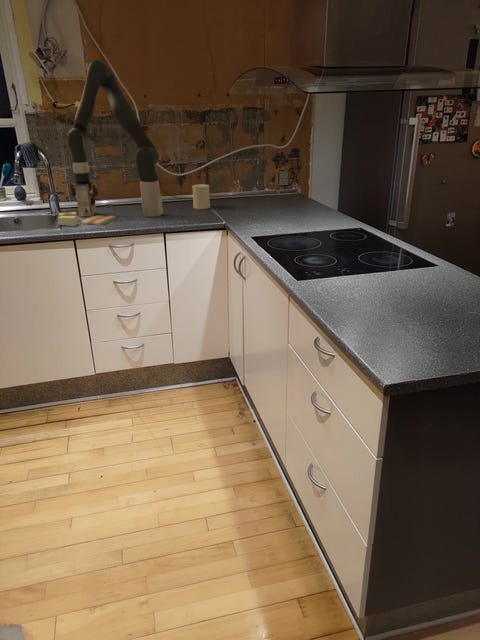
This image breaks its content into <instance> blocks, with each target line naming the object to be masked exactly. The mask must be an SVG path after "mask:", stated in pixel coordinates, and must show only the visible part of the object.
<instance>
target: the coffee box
mask: <svg viewBox="0 0 480 640" xmlns="http://www.w3.org/2000/svg"><path fill="white" fill-rule="evenodd" d="M90 182H91V184H93V181H91V180H90ZM74 184H75V183H74ZM74 186H75V192H76V197H75V198H77V200H76V204H77V210H78V216H79V218H80V217H91V216H93V215H94V214H96V213H97V208H96V207H97V206H96V204H95V205H91V197H90V193H89V192H90V191H91V190H92V191H93V188H92V187H91V188H90V189H89V185H88V184H87V183H77V184H75V185H74Z"/></svg>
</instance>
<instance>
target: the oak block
mask: <svg viewBox="0 0 480 640" xmlns="http://www.w3.org/2000/svg"><path fill="white" fill-rule="evenodd" d="M60 216H77V211H72V212H69V211H68V212H58V217H60ZM77 217H78V216H77Z"/></svg>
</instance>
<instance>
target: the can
mask: <svg viewBox="0 0 480 640" xmlns="http://www.w3.org/2000/svg"><path fill="white" fill-rule="evenodd" d="M191 189H192V199H193V200H192V201H193V202H192V205H193V209H195V210H206V209H210V208H211V203H210V201H211V200H210V198H211V197H210V185H209V184H203V183H201V184H199V183H198V184H194V185H192V188H191Z"/></svg>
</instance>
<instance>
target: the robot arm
mask: <svg viewBox="0 0 480 640" xmlns="http://www.w3.org/2000/svg"><path fill="white" fill-rule="evenodd" d="M100 88H101V89H102V90H103V92H104V93H105V95H106V98H107V100H108V102H109V106H110V110H111V111H112V114H113V116H114V118H115V119H116V121H117V123H118V125H119V127H120V128H121V129H122V130H123V132H124V133H126V134H127V135H128V136H129V137H130V138H131V140H132V141H133V142H134V144H135V146H137V147H136V148H137V151H136V153H135V163H136V169H137V170H136V171H137V175H138V178H139V185H140V194H141V195H140V196H141V205H142V215H143V216H144V217H148V218H153V217H161V216H162V215H163V214H164V212H163V209H164V208H163V200H162V195H161V193H160V180H159V175H158V173H157V172H156V169H155V165H156V164H157V163H158V162H159V159H160V156H159V155H160V154H159V151H158V149H157V148H156V146H155V145H154V143H153V142H152V141H151V140H150V138H149V137H148V135H147V133H146V131H145V130H144V128H143V125H142V124H141V122H140V120H139V118H138V117H137V115H136V113H135V111H134V110H133V108H132V106H131V104H130V102H129V101H128V99H127V98H126V96H125V95H124V93H123V91H122V89H121V88H120V87H119V84H118V82H117V80H116V77H115V75H114V73H113V70H112V69H111V67H110V66H109V64H107V63H106V62H104V61H102V60H99V59H95V60H92V61H91V62H90V63H89V65H88V67H87V72H86V79H85V82H84V87H83V92H82V94H81V98H80V101H79V104H78V107H77V110H76V113H75V116H74V123H73V125H72V128H71V129H69V131H68V132H67V143H68V146H69V149H70V150H69V151H70V153H71V160H72V170H73V177H74V181H75V183H71V184H70V185H69V187H70V193H71V196H72V197H75V198H76V192H75V186H74V185H75V184H77V183H87V184H88V185H89V189H90V188H91V187H92V188H93V191H92V190H91V191H90V192H89V193H90V197H91V205H95V206H96V197H98V196H99V191H98V184H97V183H94V184H93V183H92V184H91V182H90V181H91V175H90V166H89V163H88V157H87V152H86V149H85V147H84V140H85V138H86V135H87V133H88V128H89V125H90V123H91V120H92V117H93V115H94V111H95V107H96V98H97V94H98V92H99V89H100ZM76 201H77V198H76Z"/></svg>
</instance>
